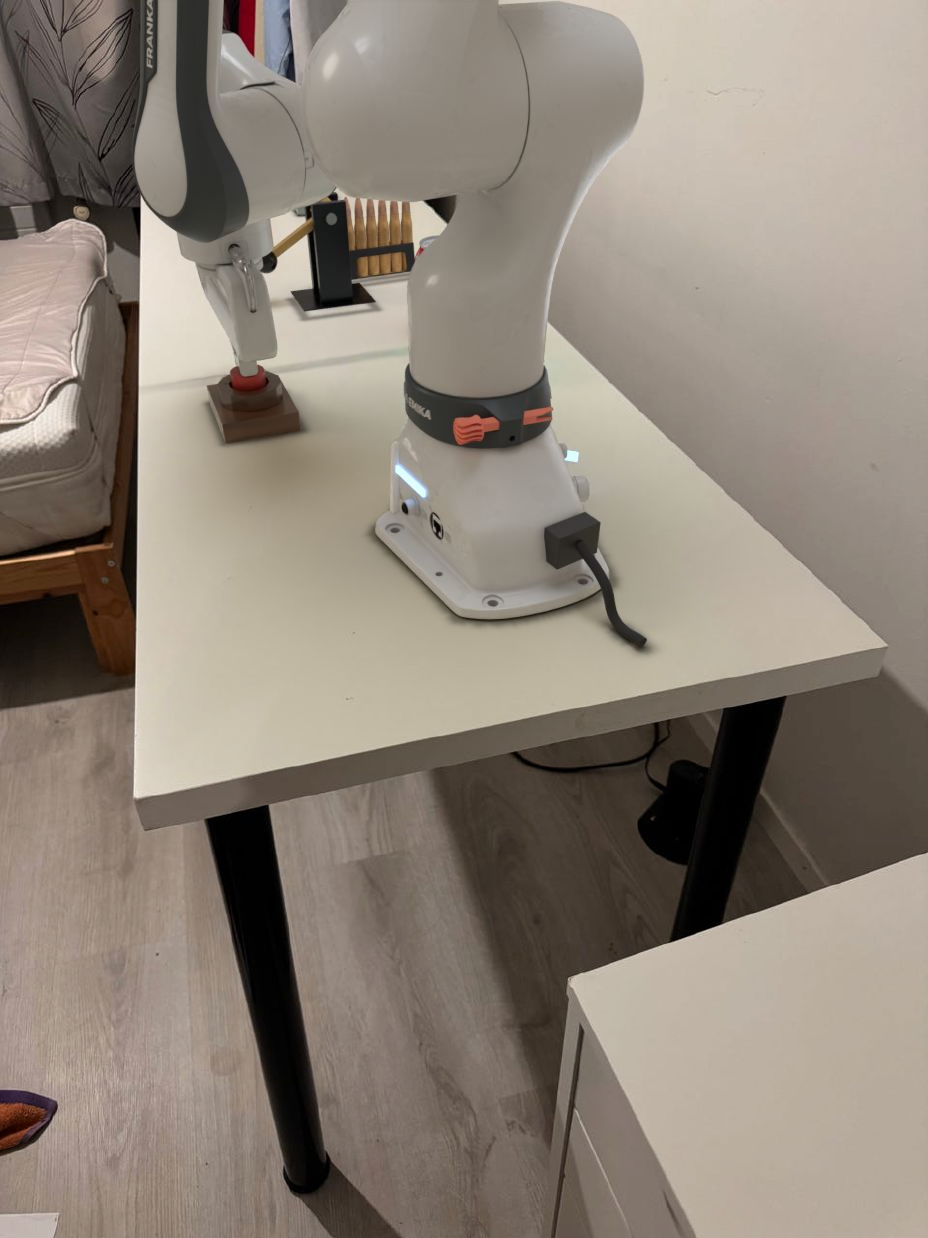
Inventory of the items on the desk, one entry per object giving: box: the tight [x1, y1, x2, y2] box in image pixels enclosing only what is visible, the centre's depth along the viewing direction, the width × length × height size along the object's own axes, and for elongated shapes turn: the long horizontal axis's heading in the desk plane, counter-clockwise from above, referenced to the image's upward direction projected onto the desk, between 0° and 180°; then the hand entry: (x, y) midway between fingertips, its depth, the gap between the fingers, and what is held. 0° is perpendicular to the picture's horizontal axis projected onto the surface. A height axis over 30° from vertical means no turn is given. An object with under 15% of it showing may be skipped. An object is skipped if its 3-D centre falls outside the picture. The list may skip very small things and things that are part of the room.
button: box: [229, 364, 267, 391], centre depth 95 cm, size 4×4×2 cm
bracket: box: [290, 191, 377, 313], centre depth 120 cm, size 10×8×14 cm
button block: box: [206, 370, 302, 444], centre depth 97 cm, size 10×8×4 cm
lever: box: [260, 197, 331, 274], centre depth 117 cm, size 13×3×3 cm
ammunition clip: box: [343, 196, 416, 281], centre depth 128 cm, size 11×2×12 cm, turn 114°
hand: (247, 370), depth 94 cm, fingers closed
